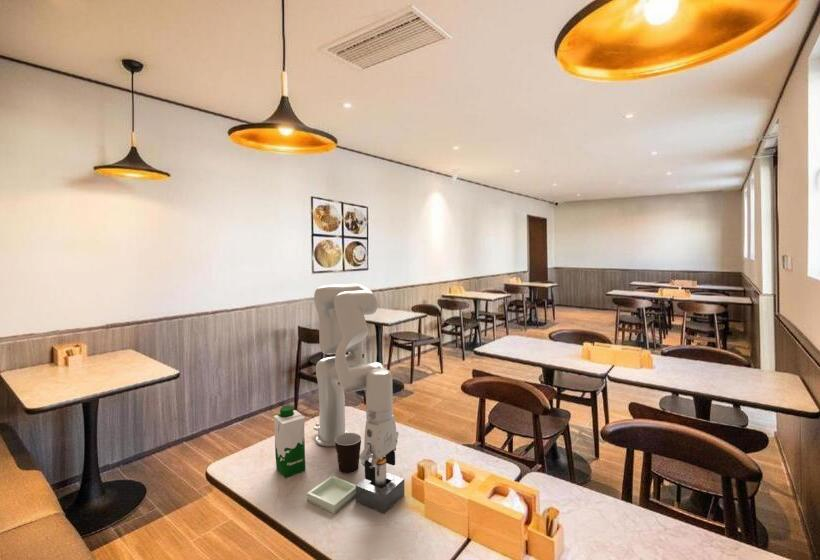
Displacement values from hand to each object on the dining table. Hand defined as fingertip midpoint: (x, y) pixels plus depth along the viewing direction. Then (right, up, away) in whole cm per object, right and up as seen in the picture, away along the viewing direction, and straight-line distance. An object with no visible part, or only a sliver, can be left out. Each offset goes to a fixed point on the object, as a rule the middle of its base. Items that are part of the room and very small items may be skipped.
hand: (380, 471), depth 114 cm
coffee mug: (-12, -7, +18) cm, 23 cm away
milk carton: (-31, -8, +16) cm, 35 cm away
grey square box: (0, -8, +1) cm, 8 cm away
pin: (0, -8, +1) cm, 8 cm away
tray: (-14, -8, +1) cm, 16 cm away
